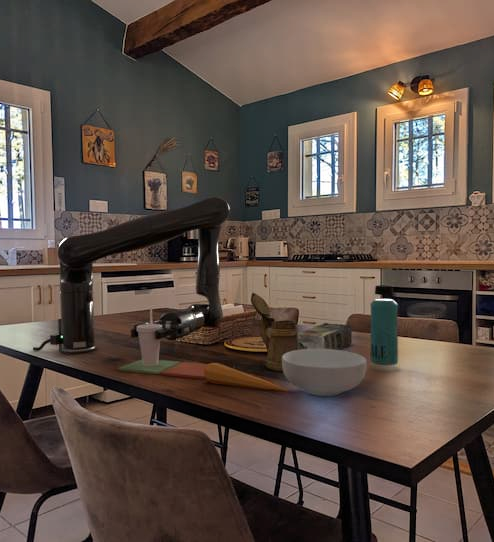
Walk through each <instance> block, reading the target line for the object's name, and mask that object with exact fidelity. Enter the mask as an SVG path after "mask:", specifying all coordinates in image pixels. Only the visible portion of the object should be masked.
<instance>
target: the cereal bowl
mask: <svg viewBox="0 0 494 542" xmlns="http://www.w3.org/2000/svg"><path fill="white" fill-rule="evenodd" d="M282 368H283V371H282V372H283V375H284V377H285V378H286V380H287V381H288V382H289V383H291V384H292V385H293V386H295V387H296V388H299V389H301V390H303V391H304V393H307V394H308V395H312V396H317V397H319V396H320V397H334V396H338V395H341V394H343V393H344V392H346V391H349V390H352V389H354V388H356V387H357V386H359V385H360V384H361V382H362V381H363V380H364V378H365V375H366V370H367V358H366V357H365V356H363V355H361V354H358V353H356V352H352V351H346V350H341V349H339V350H333V349H301V350H295V351H290V352H287V353H285V354H284V355H283V356H282Z"/></svg>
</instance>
